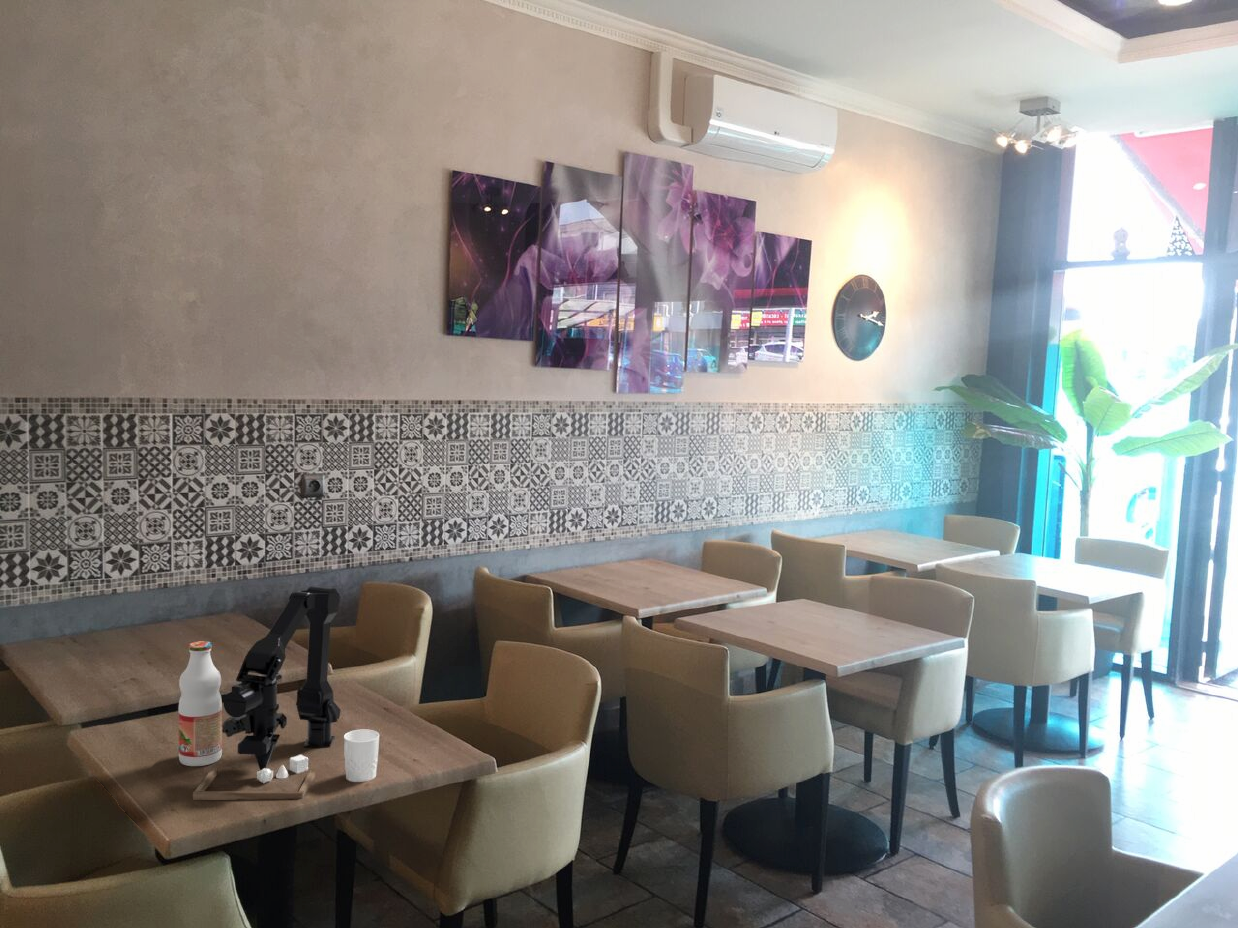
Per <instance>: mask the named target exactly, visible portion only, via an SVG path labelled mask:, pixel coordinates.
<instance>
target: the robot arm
mask: <svg viewBox="0 0 1238 928" xmlns="http://www.w3.org/2000/svg"><path fill="white" fill-rule="evenodd" d="M340 601H341V596H340V592H339V591H338V590H337V589H336V588H335V587H326V586H325V587H324V586H318V585H316V586H315V585H311V586H309V587H308V588H307V589H302V590H301V589H300V590H298V591H293V592H291V594H289V599H288V602H287V604H286V605H285V607H284V608H283V610H282V611H281V613H280V614H279V616H278V617H277V619H276V621H275V622H274V624H273V625H272V627H271V629H270V630H269V632H268V633H267V634H266V636H265V637H262V638H261V639H259V640H258V641H256V642H255V643H254V644H253V645H252V646H251V647H250V649H249V650H248V651H247V652H246V654H245V656H244V659H243V661H242V664H241V666H240V669H239V671H238V674H237V676H236V678H235V682H238V684H234V685H232V686H231V691H230V692H228V693H227V694H226V695H225V697H224V700H223V708H224V711H225V712H226V714H228V715H229V717H227V718H226V719H225V720H224V721H223V722H222V734H225V735H226V737H227V738H230V737H232V736H233V735H236V734H239V733H243V732H244V734H246V735H245V736H244V737H243V738H242V739H241V740H240V742H239V743H238V744H237V754H238V755H255V758H256V762H257V764H258V768H259V771H261V770H262V769H264V768H267V766H268V764H269V761H270V760H271V757H272V755H273V752H274V751H275V748H276V745H277V744H278V740H279V739H280V736H281V734H277V733H275V731H276V730H277V729H278V728H279V727H280V729H285V727H286V726H287V718H288V717H287V716H286V714H284V713H283V712H282V713H278V710H279V709H280V704H279V703H278V702H277V695H278V694H277V692H278V690H277V689H278V688H277V685H278V683H277V682H278V681H279V680H281V679H282V678H283V675H281V674H280V673H279V672H280V670H281V669H282V667H283V664H284V662H285V660H286V648H287V645H288V644H289V642H290V641H291V639H292V638H293V636H294V634H295V633H296V631H297V629H298V628H299V626H300V624H301V623H302V622H303V620H304V618H306V619H307V621H308V622H309V626H308V627H309V628H308V631H309V632H308V646H307V647H308V648H307V661H306V663H307V665H306V679H305V683H303V685H302V686H301V688H298V689H297V691H296V703H295V706H296V709H297V714H298V719H299V720H300V721H307V739H306V740H305V742H304V744H303V747H304V748H331V746H332V744H333V743H334V741H335V739H336V736H335V735H332V723H337V722H338V720H339V719H340V717H341V712H342V711H341V709H340V707H339V706H338V705H337V704H336V702H335V700H334V691H333V688H332V686H331V685H330V683H329V681H328V673H329V671H328V669H329V657H330V656H329V653H330V635H331V634H330V633H331V623H332V621H333V620H334V618H335V617H336V616H337V614H338V611H339V605H340V603H341V602H340ZM249 673H250V674H249ZM256 674H257V675H256ZM274 733H275V734H274ZM251 734H252V735H251Z"/></svg>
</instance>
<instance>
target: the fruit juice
mask: <svg viewBox="0 0 1238 928" xmlns="http://www.w3.org/2000/svg"><path fill="white" fill-rule="evenodd" d="M188 651H189V653H190V654H189V655H190V656H189V660H188V663H187V666H186V668H185V669H184V671H183V672H182V673H181V674H180V676H179V683H178V685H179V690H180V693H181V695H180V697H179V701H178V759H179V762H180V763H181V764H182V765H184V766H188V767H203V766H208V765H212V764H215V763H216V762H218V761H219V760H220V759H221V757H222V753H223V744H222V743H223V732H222V730H223V727H222V724H223V718H222V717H223V702H222V695H221V693H220V687H221V684H222V676H221V673H220V670H218V669H217V668H216V666H215V664H214V663H213V660H212V657H211V651H212V643H211V642H210V641H205V640H200V641H194V642H191V643H189V645H188Z"/></svg>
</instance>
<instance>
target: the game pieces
mask: <svg viewBox="0 0 1238 928" xmlns="http://www.w3.org/2000/svg"><path fill="white" fill-rule="evenodd" d="M309 761H310V760H309V758H308V756H305V755H303V754H298V755H296V756H291V757H290V758H289V767H288V768H289V771H290V772H293V773H295V774H300V773H303V772H307V771H308V770H309ZM289 776H290V774H289V772H288V770H287V769H286V767H285V765H284V764H281V765H280V766H279V768H278V771H277V772H276V774H275V778H277V779H287V778H288V777H289ZM256 778H257V780H259V783H260V782H261V783H263V784H264V785H265V783H268V782H269V783H270V782H271V781H272V780H273V778H274V770H271V769H270V768H267V767H266V768H264V769H262V770H257V772H256Z"/></svg>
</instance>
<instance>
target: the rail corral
mask: <svg viewBox="0 0 1238 928" xmlns="http://www.w3.org/2000/svg"><path fill="white" fill-rule="evenodd" d="M217 776H218V770H217V768H211V770H210V771H209V772H208V773H207V774H206V776H205V777H204V779H202V781H201V782H200V784H199V785H197V787H196V788H195V790H194V791H193V792H192V800H193V801H205V800H206V801H225V800H226V801H236V800H237V799H246V800H291V799H292V800H295V799H296V800H298V799H303V798H304V796H305V795H306V793H307V790H308V789H309V788H310V786H311V784H312V782H313V780H314V779H315V777H316V768H311V769H310V770H309V772H308V774H307V775H306V777H305V779H304V781H303V783H302V785H301V787H300V788H299V790H297V791H295V790H293V791H292V790H288V791H285V790H283V791H282V790H281V791H278V790H277V791H274V790H270V791H269V790H266V791H264V790H261V791H260V790H257V791H255V790H252V791H250V790H249V791H248V790H247V791H246V790H245V791H244V790H243V791H242V790H236V791H235V790H227V791H226V790H224V791H223V790H207V789H208V787H209V786H210V784H211V783H212V782H213V781H214V779H215V778H216V777H217ZM237 801H238V800H237Z"/></svg>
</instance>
